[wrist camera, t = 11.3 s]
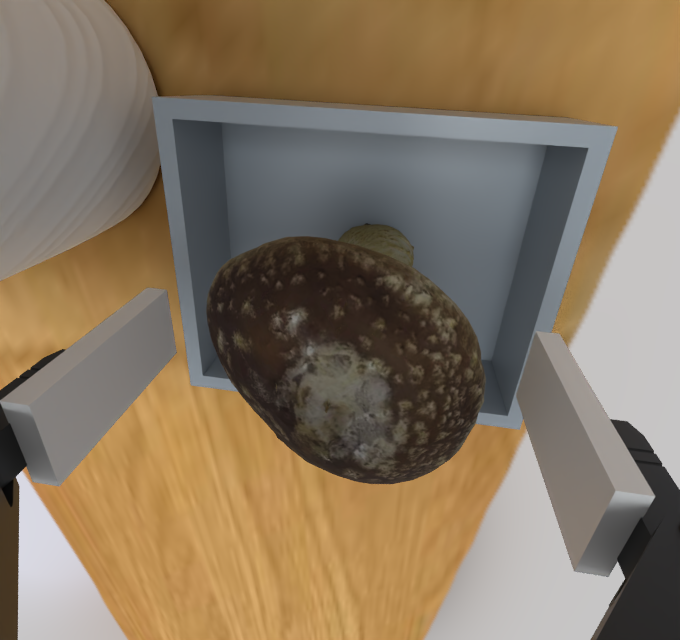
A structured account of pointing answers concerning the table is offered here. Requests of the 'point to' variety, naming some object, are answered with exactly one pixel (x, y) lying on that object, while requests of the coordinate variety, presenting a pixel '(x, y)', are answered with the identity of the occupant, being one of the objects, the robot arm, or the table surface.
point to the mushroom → (349, 353)
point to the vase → (69, 127)
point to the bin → (386, 206)
